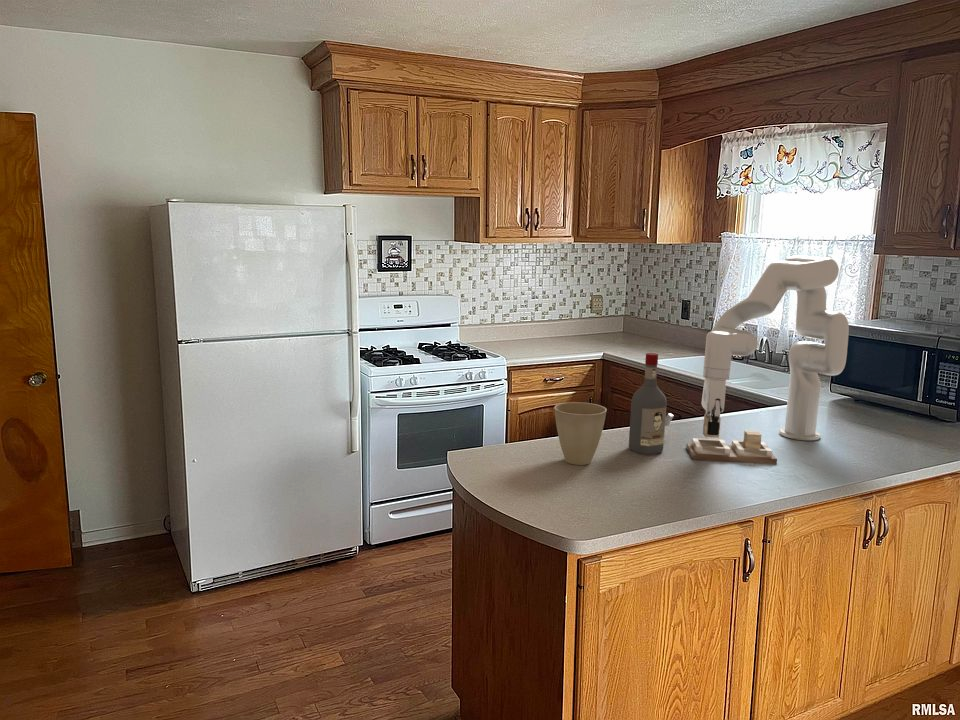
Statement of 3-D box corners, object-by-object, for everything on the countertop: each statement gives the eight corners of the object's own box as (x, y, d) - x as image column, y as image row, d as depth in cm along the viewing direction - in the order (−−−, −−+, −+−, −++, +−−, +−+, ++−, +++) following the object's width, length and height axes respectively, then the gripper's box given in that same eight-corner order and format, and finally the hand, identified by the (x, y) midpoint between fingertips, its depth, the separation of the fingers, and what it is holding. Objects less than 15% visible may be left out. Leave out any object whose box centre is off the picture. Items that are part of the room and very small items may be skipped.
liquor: (624, 447, 233) (630, 352, 228) (647, 444, 238) (654, 350, 232) (643, 456, 225) (650, 357, 220) (667, 452, 230) (674, 355, 224)
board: (686, 447, 235) (688, 424, 234) (765, 451, 233) (768, 428, 231) (693, 459, 223) (694, 435, 222) (776, 464, 221) (779, 439, 220)
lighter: (651, 433, 249) (652, 410, 248) (654, 432, 251) (655, 409, 249) (669, 438, 244) (671, 414, 243) (672, 437, 245) (674, 413, 244)
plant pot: (612, 459, 222) (615, 407, 219) (589, 473, 210) (592, 417, 207) (567, 450, 230) (569, 399, 227) (542, 462, 218) (544, 408, 215)
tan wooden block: (702, 433, 230) (704, 414, 228) (716, 434, 229) (717, 414, 228) (705, 437, 226) (706, 417, 225) (718, 437, 225) (720, 418, 224)
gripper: (698, 367, 232) (693, 424, 236) (708, 378, 216) (703, 439, 219) (723, 368, 232) (718, 425, 235) (735, 379, 215) (730, 441, 219)
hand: (711, 431), depth 227 cm, fingers closed on tan wooden block, 3 cm apart
